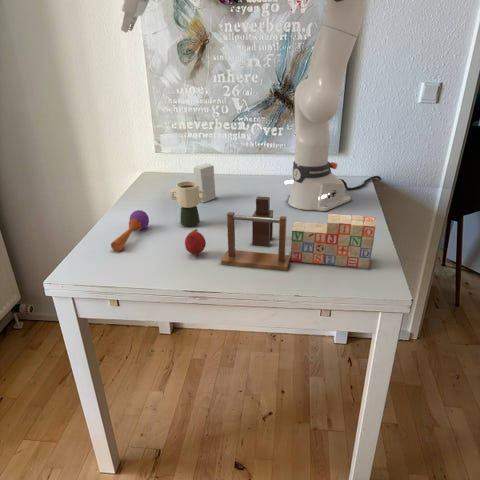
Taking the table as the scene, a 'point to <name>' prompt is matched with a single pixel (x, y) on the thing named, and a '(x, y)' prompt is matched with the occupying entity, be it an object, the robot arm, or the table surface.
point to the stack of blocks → (334, 241)
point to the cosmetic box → (205, 180)
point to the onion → (195, 242)
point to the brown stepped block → (262, 223)
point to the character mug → (188, 201)
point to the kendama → (131, 228)
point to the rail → (256, 258)
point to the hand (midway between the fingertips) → (126, 30)
